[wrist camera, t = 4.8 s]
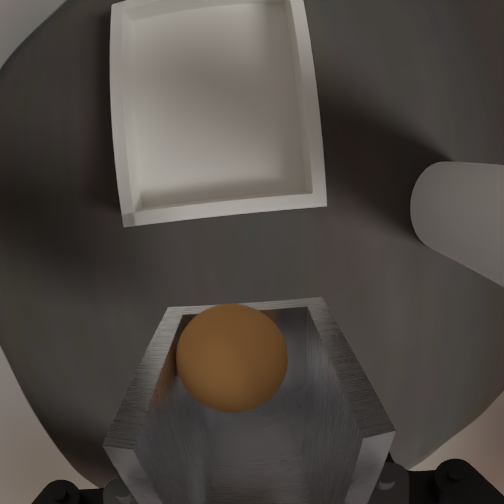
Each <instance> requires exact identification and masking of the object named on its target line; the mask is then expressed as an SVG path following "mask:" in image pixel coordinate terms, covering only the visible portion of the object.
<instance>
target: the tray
mask: <svg viewBox="0 0 504 504" xmlns="http://www.w3.org/2000/svg"><path fill="white" fill-rule="evenodd" d="M110 99H111V119H112V134H113V146H114V157H115V167H116V176H117V184H118V192H119V200H120V207H121V213H122V220H123V226H124V227H131V226H138V225H146V224H154V223H162V222H170V221H179V220H187V219H196V218H205V217H214V216H224V215H234V214H244V213H254V212H265V211H276V210H287V209H299V208H311V207H324V206H327V196H326V180H325V166H324V153H323V142H322V131H321V121H320V111H319V102H318V94H317V86H316V78H315V70H314V63H313V56H312V50H311V43H310V37H309V31H308V25H307V19H306V13H305V8H304V2H303V0H126V1H122V2H119V3H116V4H112V9H111V28H110Z"/></svg>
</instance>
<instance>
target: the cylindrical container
mask: <svg viewBox="0 0 504 504" xmlns="http://www.w3.org/2000/svg"><path fill="white" fill-rule="evenodd" d="M410 215H411V221H412V225H413V228H414V230H415V233H416V235H417V236H418V237H419V239H420V240H421V241H422V242H423V243H424V244H425V245H426V246H428V247H429V248H431V249H433V250H435V251H437V252H439V253H441V254H443V255H445V256H447V257H449V258H451V259H453V260H455V261H457V262H459V263H461V264H462V265H464V266H466V267H468V268H470V269H472V270H474V271H476V272H477V273H479V274H481V275H483V276H485V277H487V278H488V279H490V280H492V281H494V282H496V283H497V284H499V285H501V286H503V287H504V165H495V164H482V163H467V162H448V161H444V162H437V163H435V164H432V165H431V166H429V167H428V168H426V169H425V170H424V171H423V173H422V174H421V175H420V176H419V178H418V180H417V181H416V183H415V186H414V188H413V191H412V196H411V202H410Z"/></svg>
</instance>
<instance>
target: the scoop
mask: <svg viewBox="0 0 504 504" xmlns="http://www.w3.org/2000/svg"><path fill="white" fill-rule="evenodd" d="M240 305H245V306H249V307H252V308H254V309H256V310H258V311H260V312H262V313H263V314H265V315H266V316H267V317H269V318H270V319H271V320H272V321H273V322H274V323H275V324H276V326H277V327H278V329H279V330H280V332H281V333H282V335H283V337H284V340H285V343H286V347H287V352H288V365H287V371H286V375H285V378H284V380H283V382H282V384H281V386H280V387H279V389H278V391H277V392H276V393H275V394H274V395H273V396H272V397H271V398H270V399H269V400H268V401H266V402H265V403H264V404H262V405H260V406H259V407H257V408H254V409H252V410H249V411H245V412H239V413H227V412H221V411H217V410H213V409H211V408H208V407H206V406H204V405H203V404H201V403H200V402H198V401H197V400H196V399H195V398H194V397H193V396H191V395H190V393H189V392H188V391H187V390H186V388H185V387H184V385H183V384H182V381H181V379H180V377H179V374H178V371H177V365H176V350H177V345H178V342H179V339H180V336H181V334H182V332H183V330H184V329H185V327H186V326H187V325H188V324H189V322H190V321H191V320H192V319H193V318H194V317H196V316H197V315H198V314H199V313H201V312H203V311H204V310H206V309H209V308H211V307H214V306H217V305H207V306H186V307H168V309H167V311H166V312H165V314H164V316H163V318H162V320H161V322H160V324H159V326H158V328H157V330H156V332H155V334H154V336H153V338H152V340H151V342H150V344H149V346H148V348H147V350H146V352H145V354H144V356H143V358H142V360H141V363H140V365H139V367H138V369H137V371H136V373H135V375H134V377H133V379H132V381H131V383H130V386H129V388H128V390H127V392H126V394H125V396H124V398H123V400H122V403H121V405H120V407H119V409H118V411H117V414H116V416H115V418H114V420H113V422H112V425H111V427H110V429H109V431H108V434H107V436H106V438H105V440H104V443H103V445H102V446H103V448H104V450H105V451H106V453H107V455H108V457H109V458H110V460H111V462H112V463H113V465H114V467H115V468H116V470H117V472H118V473H119V475H120V477H121V478H122V480H123V481H124V483H125V484H126V486H127V487H128V489H129V490H130V492H131V493H132V495H133V496H134V498H135V499H136V501H137V502H138V504H367V503H368V501H369V499H370V496H371V494H372V492H373V490H374V487H375V485H376V483H377V480H378V478H379V475H380V473H381V470H382V468H383V465H384V463H385V460H386V457H387V455H388V452H389V449H390V446H391V444H392V441H393V438H394V435H395V432H396V430H395V428H394V426H393V424H392V422H391V420H390V418H389V417H388V415H387V413H386V411H385V409H384V407H383V405H382V403H381V402H380V400H379V398H378V396H377V394H376V392H375V390H374V389H373V387H372V385H371V383H370V381H369V379H368V378H367V376H366V374H365V372H364V370H363V369H362V367H361V365H360V363H359V361H358V360H357V358H356V356H355V354H354V352H353V351H352V349H351V347H350V345H349V343H348V342H347V340H346V338H345V336H344V335H343V333H342V331H341V329H340V328H339V326H338V324H337V322H336V321H335V319H334V317H333V315H332V314H331V312H330V310H329V309H328V307H327V305H326V303H325V302H324V300H323V298H322V297H316V298H305V299H294V300H282V301H269V302H255V303H241V304H240Z"/></svg>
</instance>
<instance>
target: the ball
mask: <svg viewBox="0 0 504 504" xmlns="http://www.w3.org/2000/svg"><path fill="white" fill-rule="evenodd" d="M176 365H177V371H178V374H179V377H180V379H181V381H182V384H183V385H184V387H185V388H186V390H187V391H188V392H189V393H190V395H191V396H193V397H194V398H195V399H196V400H197V401H198V402H200V403H201V404H203V405H204V406H206V407H208V408H211V409H213V410H217V411H221V412H227V413H239V412H245V411H249V410H252V409H254V408H257V407H259V406H260V405H262V404H264V403H265V402H266V401H268V400H269V399H270V398H271V397H272V396H273V395H274V394H275V393H276V392H277V391H278V389H279V387H280V386H281V384H282V382H283V380H284V378H285V375H286V371H287V365H288V352H287V347H286V343H285V340H284V337H283V335H282V333H281V332H280V330H279V329H278V327H277V326H276V324H275V323H274V322H273V321H272V320H271V319H270V318H269V317H267V316H266V315H265V314H263V313H262V312H260V311H258V310H256V309H254V308H252V307H249V306H245V305H240V304H223V305H217V306H214V307H211V308H209V309H206V310H204V311H203V312H201V313H199V314H198V315H197V316H196V317H194V318H193V319H192V320H191V321H190V322H189V324H188V325H187V326H186V327H185V329H184V330H183V332H182V334H181V336H180V339H179V342H178V345H177V350H176Z"/></svg>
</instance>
